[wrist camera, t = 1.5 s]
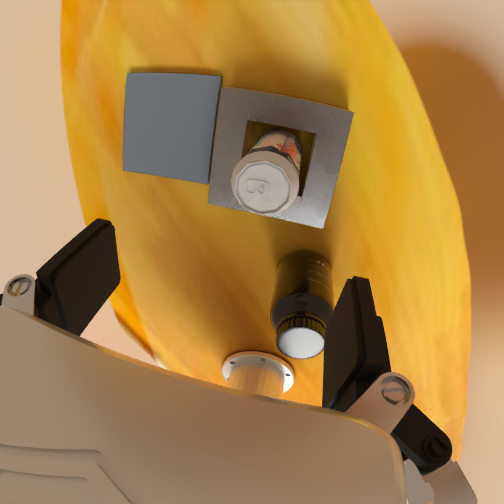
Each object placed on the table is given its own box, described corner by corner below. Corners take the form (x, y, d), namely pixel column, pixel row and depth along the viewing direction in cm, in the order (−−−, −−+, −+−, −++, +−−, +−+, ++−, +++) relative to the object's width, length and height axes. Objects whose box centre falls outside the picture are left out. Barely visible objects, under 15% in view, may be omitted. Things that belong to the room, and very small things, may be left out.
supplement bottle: (307, 301, 39) (302, 374, 29) (266, 274, 38) (249, 345, 28) (343, 269, 36) (350, 342, 26) (301, 237, 35) (295, 306, 25)
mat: (209, 182, 33) (207, 184, 32) (126, 168, 34) (123, 170, 33) (222, 76, 26) (220, 76, 26) (130, 73, 27) (127, 73, 27)
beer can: (298, 175, 31) (292, 226, 21) (254, 169, 31) (226, 215, 21) (305, 132, 28) (303, 159, 18) (258, 126, 29) (229, 150, 19)
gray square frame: (321, 214, 33) (322, 228, 30) (217, 191, 34) (207, 203, 31) (348, 109, 26) (353, 112, 23) (230, 86, 27) (221, 86, 24)
